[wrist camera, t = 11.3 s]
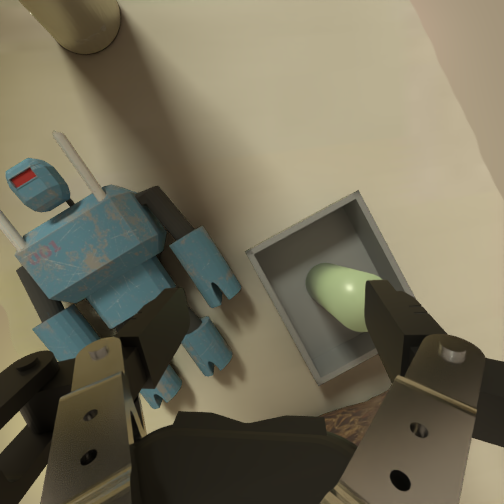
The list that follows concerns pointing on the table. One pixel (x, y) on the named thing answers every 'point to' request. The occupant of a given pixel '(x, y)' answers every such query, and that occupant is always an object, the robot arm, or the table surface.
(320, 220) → the bin
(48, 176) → the toy
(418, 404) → the robot arm
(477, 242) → the table surface
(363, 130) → the table surface
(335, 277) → the pale green rounded knob
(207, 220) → the table surface
